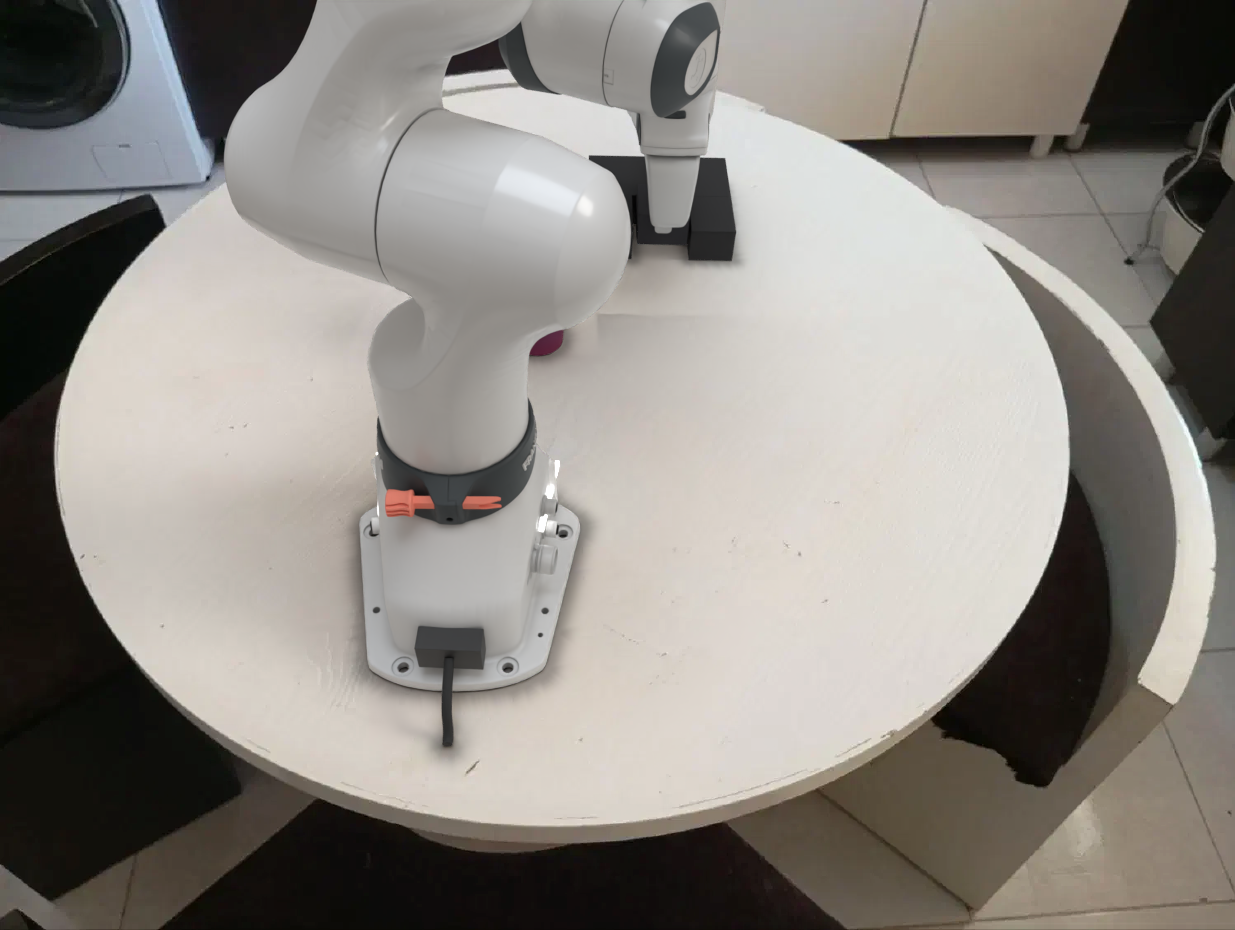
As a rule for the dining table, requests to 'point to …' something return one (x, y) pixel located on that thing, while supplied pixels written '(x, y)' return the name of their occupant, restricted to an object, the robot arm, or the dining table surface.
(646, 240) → the small cube
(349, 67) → the robot arm
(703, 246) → the big black u-shaped block
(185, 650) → the dining table surface
